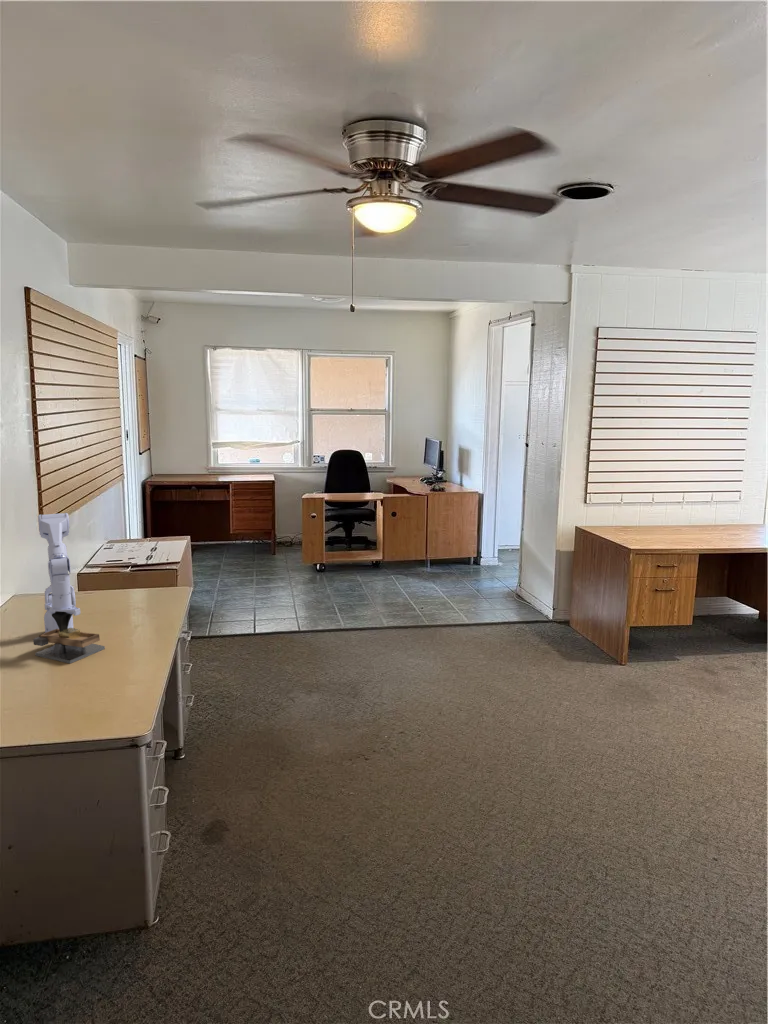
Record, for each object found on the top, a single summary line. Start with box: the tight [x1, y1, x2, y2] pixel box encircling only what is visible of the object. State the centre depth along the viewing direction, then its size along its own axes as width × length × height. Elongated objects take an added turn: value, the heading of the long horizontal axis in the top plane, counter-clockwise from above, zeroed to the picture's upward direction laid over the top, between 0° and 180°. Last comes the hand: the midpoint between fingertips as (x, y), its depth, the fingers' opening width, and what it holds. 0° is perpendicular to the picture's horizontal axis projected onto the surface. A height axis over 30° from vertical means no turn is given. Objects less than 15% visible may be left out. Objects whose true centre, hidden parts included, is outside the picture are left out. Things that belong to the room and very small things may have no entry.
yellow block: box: [59, 627, 81, 639], centre depth 217 cm, size 5×4×2 cm
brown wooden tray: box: [32, 629, 101, 647], centre depth 218 cm, size 20×12×3 cm, turn 66°
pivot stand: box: [35, 643, 106, 664], centre depth 218 cm, size 16×14×5 cm
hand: (64, 632), depth 219 cm, fingers closed, pressing on yellow block
